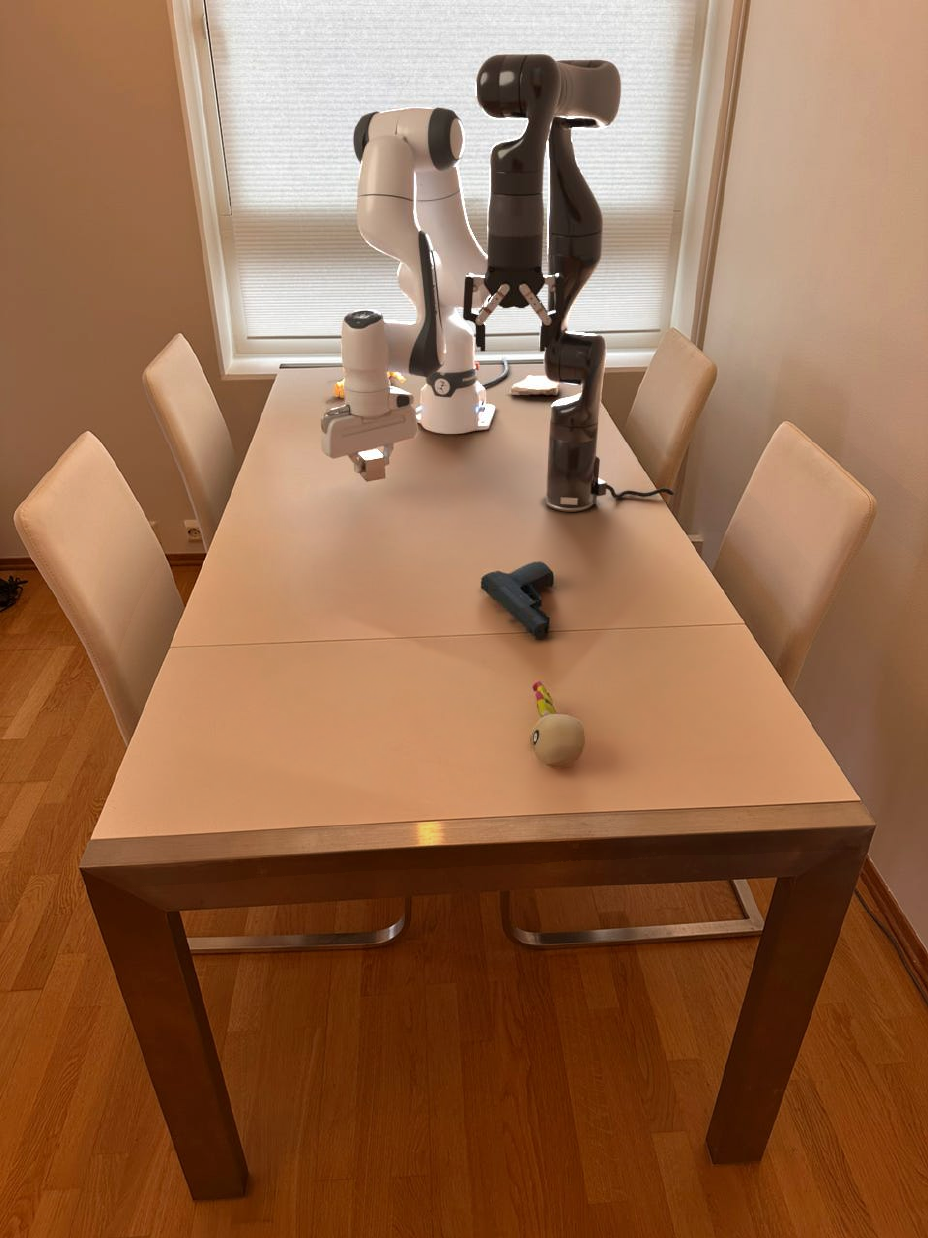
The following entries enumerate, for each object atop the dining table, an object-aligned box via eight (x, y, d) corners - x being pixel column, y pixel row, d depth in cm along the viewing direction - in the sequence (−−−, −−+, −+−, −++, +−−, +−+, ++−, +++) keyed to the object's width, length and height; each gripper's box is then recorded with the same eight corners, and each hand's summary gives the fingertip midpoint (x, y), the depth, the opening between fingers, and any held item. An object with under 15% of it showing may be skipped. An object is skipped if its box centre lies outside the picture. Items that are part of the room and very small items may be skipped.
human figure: (402, 372, 253) (401, 358, 251) (409, 392, 236) (408, 377, 234) (333, 377, 251) (331, 363, 249) (335, 398, 234) (333, 382, 232)
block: (366, 481, 177) (365, 459, 174) (359, 474, 180) (357, 452, 177) (385, 478, 178) (384, 456, 176) (378, 470, 181) (376, 449, 179)
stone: (553, 399, 232) (554, 389, 231) (509, 395, 235) (509, 385, 234) (564, 385, 243) (564, 375, 241) (521, 381, 246) (522, 372, 244)
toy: (510, 684, 120) (525, 756, 108) (557, 660, 119) (578, 730, 106) (530, 713, 123) (547, 787, 110) (577, 690, 122) (599, 762, 109)
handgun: (595, 623, 140) (530, 643, 135) (537, 573, 153) (475, 590, 148) (597, 606, 138) (530, 625, 134) (538, 557, 151) (476, 573, 147)
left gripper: (328, 415, 163) (334, 485, 171) (420, 394, 174) (422, 461, 181) (311, 406, 168) (318, 475, 175) (402, 386, 178) (405, 452, 185)
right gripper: (462, 233, 117) (462, 357, 126) (570, 233, 117) (563, 357, 126) (463, 224, 124) (463, 343, 132) (566, 224, 123) (559, 343, 132)
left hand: (372, 468), depth 178 cm, fingers closed on block, 4 cm apart
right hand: (512, 350), depth 129 cm, fingers open, 8 cm apart
